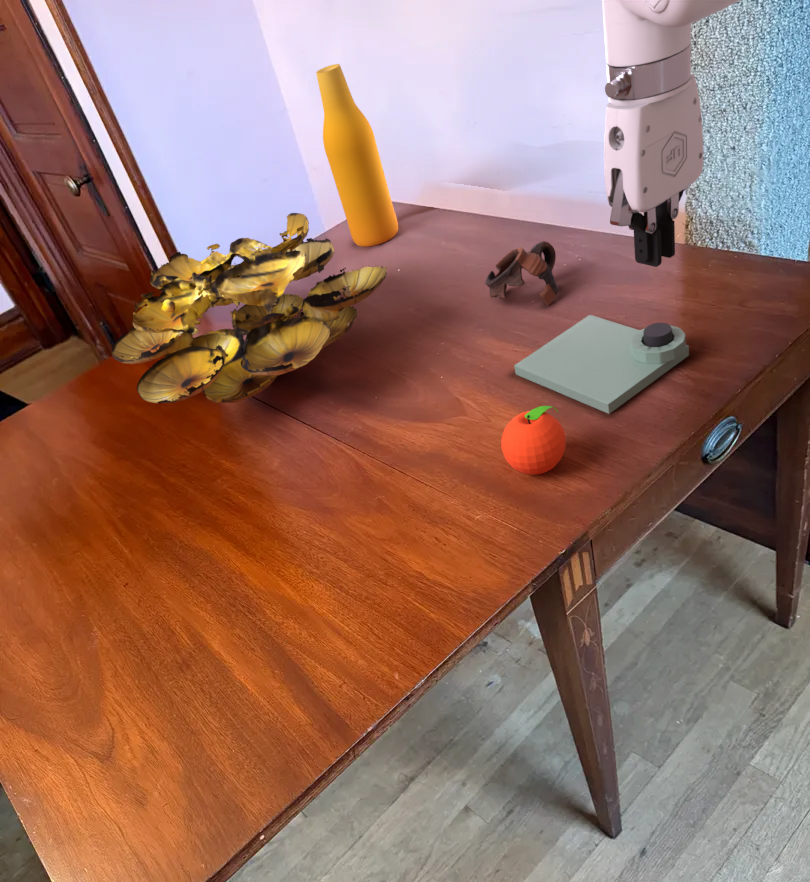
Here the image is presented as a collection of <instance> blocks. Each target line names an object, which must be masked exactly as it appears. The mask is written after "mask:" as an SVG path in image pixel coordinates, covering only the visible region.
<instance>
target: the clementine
mask: <svg viewBox="0 0 810 882" xmlns="http://www.w3.org/2000/svg"><path fill="white" fill-rule="evenodd" d="M549 409H554V410H555V411H556V412H557V413H558V414H559V411H558V408H556V407H554V406H552V405H540V406H537V407H535V408H533V409H531V410H526V411H523V412H521V413H519V414H517V415H515V416H514V417H512V419H511V420H509V421H508V423H506V426H505V427H504V429H503V431H502V436H501V441H500V443H501V445H500V446H501V451H502V454H503V456H504V459H505V461H506V462H507V463H508V464H509V465H510V466H511V468H513V469H514V470H515V471H517V472H519V473H521V474H525V475H528V476H529V475H531V476H535V475H541V474H545V473H547V472H549V471H552V469H554V468H555V467H556V466H557V465H558V463H559V462H560V461H561V460H562V458H563V456H564V453H565V451H566V443H567V442H566V440H567V439H566V434H565V431H564V427H563V426H562V424H561V423H560V422H559V420H558V419H557V418H556V417H554V416H553V415H551V414H549V413H548V412H546V411H548V410H549Z"/></svg>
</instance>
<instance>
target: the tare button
mask: <svg viewBox="0 0 810 882" xmlns="http://www.w3.org/2000/svg"><path fill="white" fill-rule="evenodd" d="M670 325H671V324H669V323H666V322H655V323H651V324H649V325H647V326H646V327H644V328H643V329H644V331H643V332H644V344H645V345H646V346H648V347H662V346H665V345H668V344H669V343H671V341H672V327H671V326H672V325H671V326H670Z"/></svg>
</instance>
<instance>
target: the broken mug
mask: <svg viewBox="0 0 810 882" xmlns="http://www.w3.org/2000/svg"><path fill="white" fill-rule="evenodd" d="M542 254H543V255H542ZM556 256H557V255H556V250H555V248H554V246H553V245H552V244H551V243H550V242H548V241H546V240H543V241H539V242H538V243H536V244H534V246H532V248H531V249H530V250H529V251H526V250H525V249H524V248H523V246H518V247H515V248H513V249H512V250H511V251H509V252H508V253H507V254H506V255H505V256H504V257H502V258H501V259H500V260H499V261H498V262H497V264H495V268H496V270H498V271H497V272H496V273H495V272H494V271H493V270H491V271H490V272H488V275H486V278H485V281H484V284H485V285H486V286H487V287H488V288H489V296H490V298H492V299H493V298H498V297H500V298H502V299H507V296H506V291H507V287H508V286H509V287H518V288H519V287H522V286H524V285H525V284H526V282H525V281H524V279H523V273H522V270H523V269H524V270H525V271H526V272H527V273H529V275H531V276H533V277H537V278H538V280H543V281H544V283H545V286H544V288H543V289H542V291H541V292H540V293H539V297H540V298H541V299H542V300H543V301H544V304H545V306H546V307H547V306H550V305H551V304H552V303H553V301H555V299H556V297H557V296H558V293H559V292H560V288H559V286H558V284H557V281H556V279H555V276H554V274H553V270H554V268H555V264H556ZM543 257H544V258H543Z"/></svg>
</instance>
